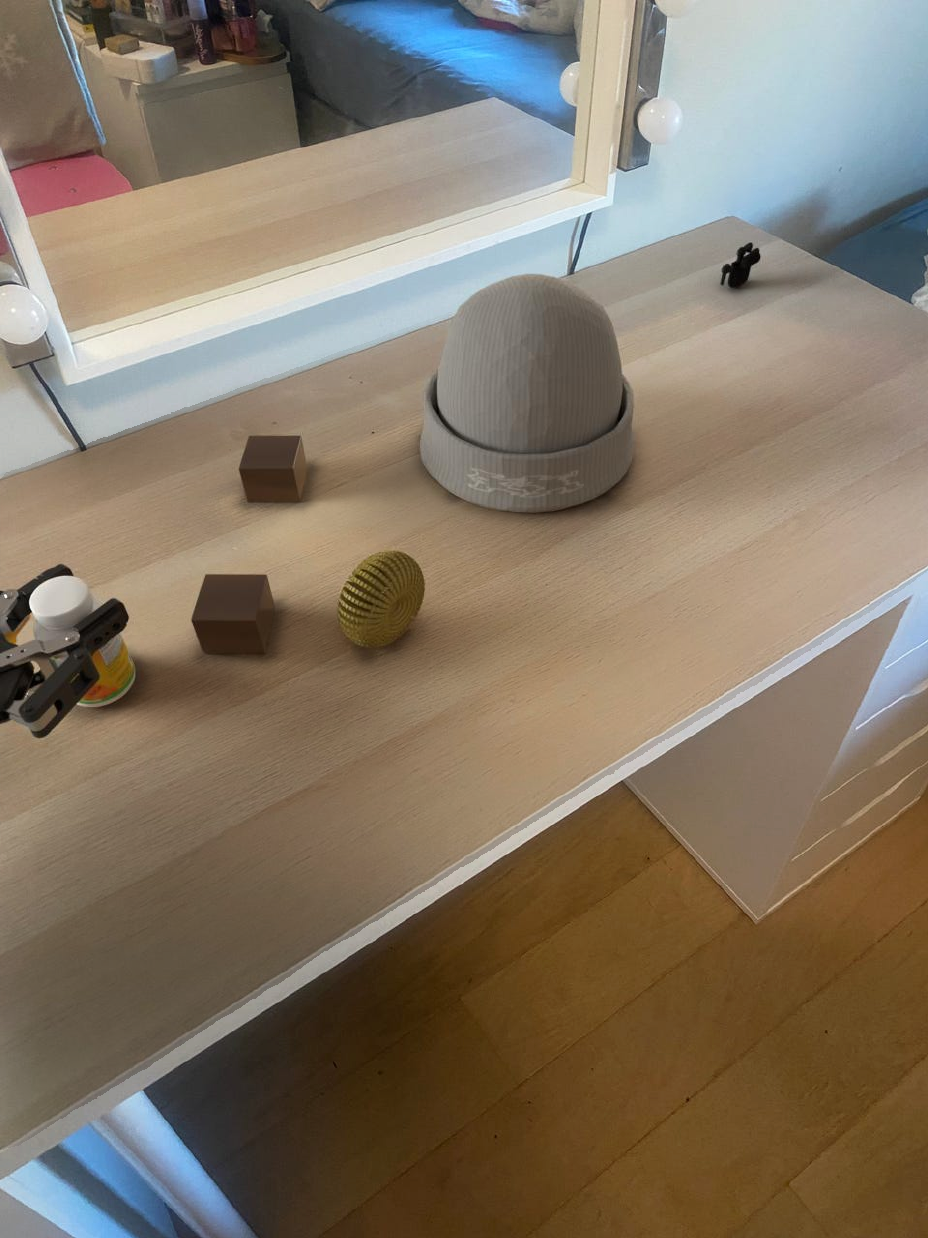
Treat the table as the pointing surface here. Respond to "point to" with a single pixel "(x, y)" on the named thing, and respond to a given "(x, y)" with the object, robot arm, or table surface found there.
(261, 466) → the block far
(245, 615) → the block near
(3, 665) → the robot arm
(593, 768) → the table surface
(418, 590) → the sculpture
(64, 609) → the supplement bottle
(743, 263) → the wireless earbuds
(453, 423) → the beanie hat
